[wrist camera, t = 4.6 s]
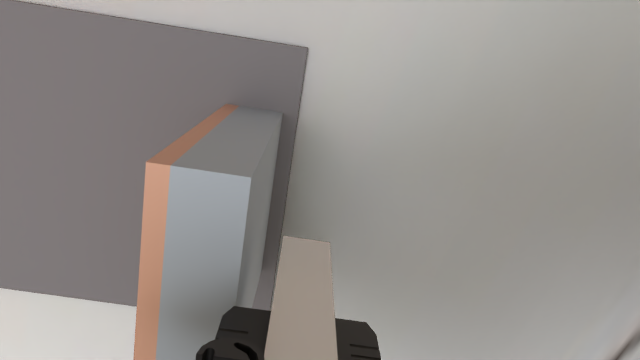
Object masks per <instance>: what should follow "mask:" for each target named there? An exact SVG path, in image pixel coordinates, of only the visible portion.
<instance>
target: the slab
mask: <svg viewBox="0 0 640 360" xmlns="http://www.w3.org/2000/svg"><path fill="white" fill-rule="evenodd" d="M282 115H283V113H282V112H276V111H269V110H263V109H256V108H250V107H243V106H237V105H231V104H225V105H224V106H223V107H221V108H220V109H218V110H217V111H216V112H214V113H213V114H211V115H210V116H209V117H207V118H206V119H205V120H203V121H202V122H200V123H199V124H198V125H196V126H195V127H193V128H192V129H191V130H189V131H188V132H187V133H185V134H184V135H182V136H181V137H180V138H178V139H177V140H176V141H174V142H173V143H171V144H170V145H169V146H167V147H166V148H164V149H163V150H162V151H160V152H159V153H158V154H156V155H155V156H153V157H152V158H151V159H149V160H148V161H147V162H146V169H145V185H144V201H143V217H142V233H141V249H140V265H139V281H138V297H137V313H136V329H135V345H134V360H196V353H197V352H198V351H199V349H200V348H201V346H203V345H205V344H206V343H208V342H210V341H212V340H215V337H216V334H217V331H218V328H219V325H220V322H221V319H222V316H223V315H224V314H225V313H226V312H227V311H228V310H230V309H231V308H232V307H233V306H238V307H246V308H252V306H253V302H254V298H255V294H256V290H257V286H258V282H259V278H260V274H261V270H262V262H263V255H264V248H265V240H266V233H267V226H268V218H269V211H270V203H271V196H272V189H273V181H274V174H275V167H276V159H277V152H278V144H279V137H280V130H281V122H282Z"/></svg>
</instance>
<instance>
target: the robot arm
mask: <svg viewBox="0 0 640 360" xmlns="http://www.w3.org/2000/svg"><path fill="white" fill-rule="evenodd" d="M196 360H381V356H380V351H379V346H378V341H377V336H376V334H375V333H374V331H373V330H372V329H371V328H370V326H369V325H368V324H367V323H366V322H359V321H351V320H344V319H337V318H335V311H334V296H333V281H332V266H331V251H330V242H324V241H317V240H310V239H303V238H296V237H289V236H283V241H282V247H281V254H280V260H279V266H278V272H277V278H276V285H275V291H274V297H273V303H272V309H271V311H268V310H260V309H253V308H246V307H238V306H233V307H232V308H231V309H230V310H228V311H227V312H226V313H225V314H224V315H223V316H222V319H221V322H220V325H219V328H218V331H217V334H216V337H215V340H212V341H210V342H208V343H206V344H205V345H203V346H201V348H200V349H199V351H198V352H197V353H196Z"/></svg>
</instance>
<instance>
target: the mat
mask: <svg viewBox="0 0 640 360" xmlns="http://www.w3.org/2000/svg"><path fill="white" fill-rule="evenodd" d="M307 50H308V48H306V47H299V46H293V45H287V44H281V43H275V42H268V41H262V40H256V39H250V38H244V37H237V36H231V35H225V34H219V33H212V32H206V31H200V30H194V29H188V28H181V27H175V26H169V25H163V24H156V23H150V22H144V21H138V20H132V19H125V18H119V17H113V16H107V15H100V14H94V13H88V12H82V11H76V10H69V9H63V8H57V7H51V6H44V5H38V4H32V3H26V2H20V1H13V0H0V288H5V289H12V290H19V291H27V292H34V293H41V294H49V295H56V296H63V297H71V298H78V299H85V300H93V301H100V302H107V303H115V304H122V305H129V306H137V297H138V281H139V265H140V249H141V233H142V217H143V201H144V185H145V169H146V162H147V161H148V160H149V159H151V158H152V157H153V156H155V155H156V154H158V153H159V152H160V151H162V150H163V149H164V148H166V147H167V146H169V145H170V144H171V143H173V142H174V141H176V140H177V139H178V138H180V137H181V136H182V135H184V134H185V133H187V132H188V131H189V130H191V129H192V128H193V127H195V126H196V125H198V124H199V123H200V122H202V121H203V120H205V119H206V118H207V117H209V116H210V115H211V114H213V113H214V112H216V111H217V110H218V109H220V108H221V107H223V106H224V105H225V104H231V105H237V106H243V107H250V108H256V109H263V110H269V111H276V112H282V113H283V115H282V122H281V130H280V137H279V144H278V152H277V159H276V167H275V174H274V181H273V189H272V196H271V203H270V211H269V218H268V226H267V233H266V240H265V248H264V255H263V262H262V270H261V274H260V278H259V282H258V286H257V290H256V294H255V298H254V302H253V306H252V308H253V309H260V310H268V311H270V307H271V300H272V293H273V286H274V279H275V272H276V265H277V258H278V251H279V244H280V237H281V230H282V223H283V216H284V210H285V203H286V196H287V189H288V182H289V175H290V168H291V161H292V154H293V147H294V140H295V133H296V126H297V119H298V112H299V106H300V99H301V92H302V85H303V78H304V71H305V64H306V57H307Z"/></svg>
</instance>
